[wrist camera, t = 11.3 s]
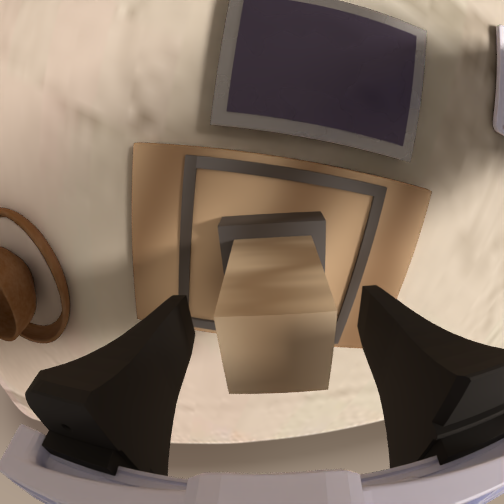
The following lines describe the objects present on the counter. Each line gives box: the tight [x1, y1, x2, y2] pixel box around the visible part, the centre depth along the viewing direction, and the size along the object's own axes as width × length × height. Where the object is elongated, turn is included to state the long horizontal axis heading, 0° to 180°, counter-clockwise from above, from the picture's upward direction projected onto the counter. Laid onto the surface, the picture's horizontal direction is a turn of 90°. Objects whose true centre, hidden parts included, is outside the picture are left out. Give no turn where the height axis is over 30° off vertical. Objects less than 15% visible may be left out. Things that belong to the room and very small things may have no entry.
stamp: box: [214, 211, 337, 394], centre depth 13 cm, size 5×5×8 cm
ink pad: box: [210, 0, 427, 162], centre depth 12 cm, size 10×8×1 cm
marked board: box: [132, 143, 432, 348], centre depth 16 cm, size 16×11×1 cm
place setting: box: [0, 207, 70, 343], centre depth 18 cm, size 18×20×6 cm
